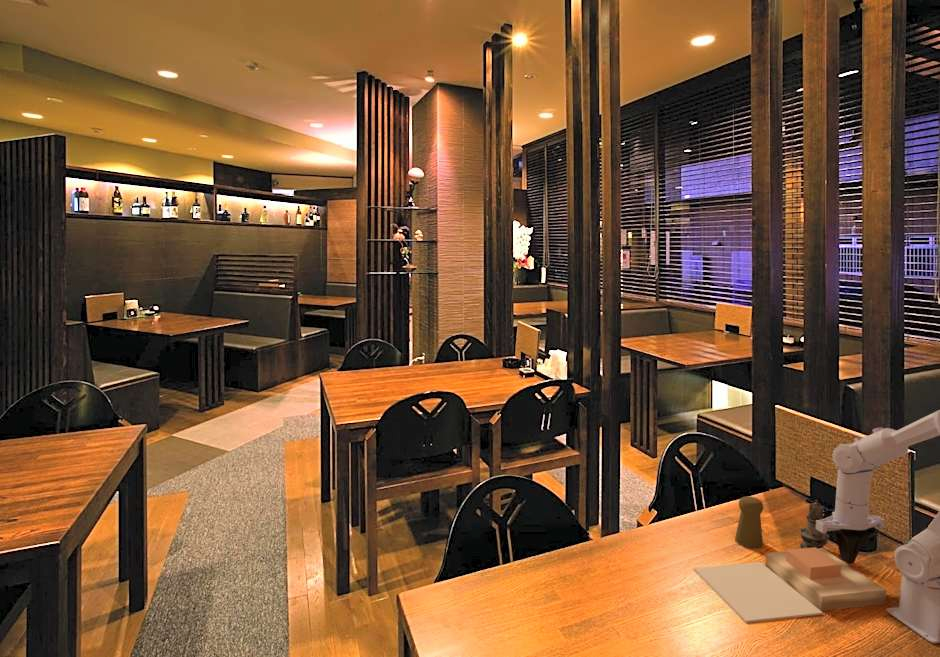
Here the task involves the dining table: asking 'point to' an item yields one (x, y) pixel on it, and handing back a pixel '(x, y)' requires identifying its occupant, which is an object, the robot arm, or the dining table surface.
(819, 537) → the dark chess piece
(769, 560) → the serving board
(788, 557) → the coaster
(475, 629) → the dining table surface
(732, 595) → the mat
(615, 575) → the dining table surface
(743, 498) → the cork
